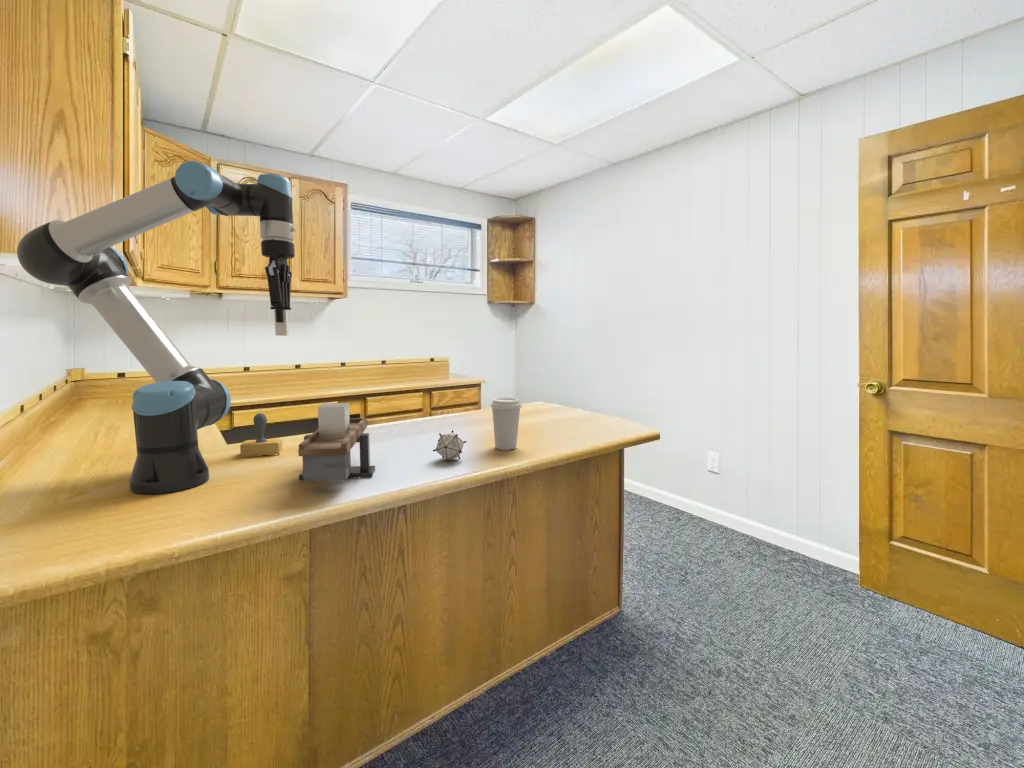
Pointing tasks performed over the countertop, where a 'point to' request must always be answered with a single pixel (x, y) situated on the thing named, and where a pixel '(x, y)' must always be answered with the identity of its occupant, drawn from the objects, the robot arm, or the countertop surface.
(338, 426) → the light grey block
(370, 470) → the pivot stand
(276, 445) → the rubber stamp
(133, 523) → the countertop surface
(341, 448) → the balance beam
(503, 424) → the coffee cup
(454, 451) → the game die
